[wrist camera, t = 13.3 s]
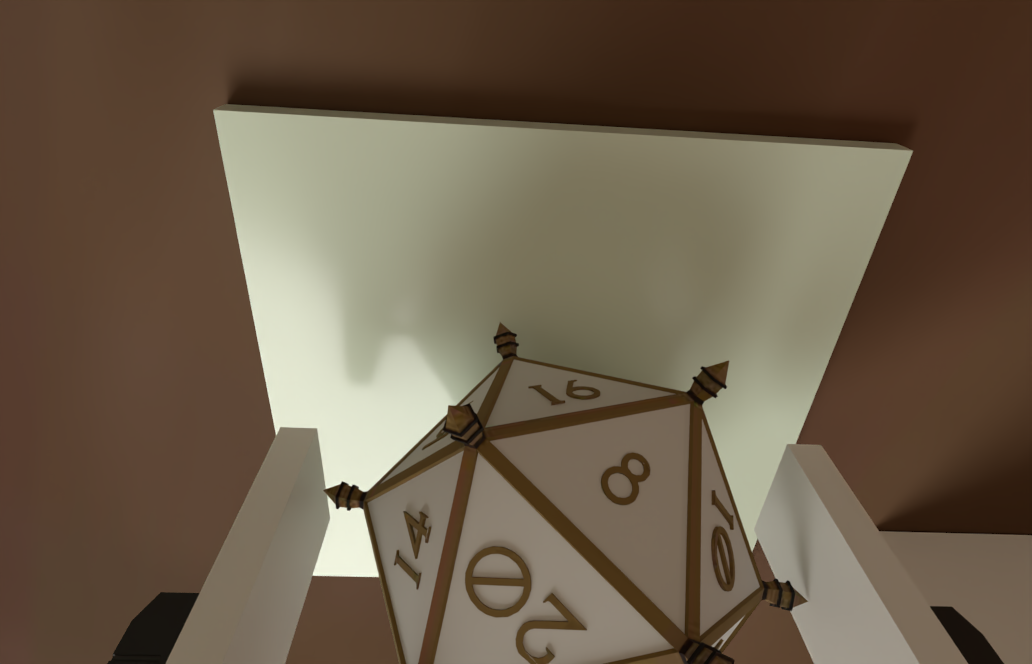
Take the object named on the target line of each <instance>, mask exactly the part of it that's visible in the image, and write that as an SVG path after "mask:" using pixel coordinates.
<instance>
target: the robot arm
mask: <svg viewBox="0 0 1032 664" xmlns="http://www.w3.org/2000/svg"><path fill="white" fill-rule="evenodd" d="M325 489H326V486H325V479H324V472H323V465H322V458H321V451H320V445H319V438H318V431H317V428H290V427H280V429H279V431H278V433H277V435H276V437H275V439H274V441H273V443H272V445H271V447H270V449H269V452H268V454H267V456H266V458H265V460H264V462H263V464H262V466H261V468H260V470H259V472H258V474H257V476H256V478H255V480H254V482H253V484H252V487H251V489H250V491H249V493H248V495H247V497H246V499H245V501H244V503H243V505H242V507H241V509H240V511H239V513H238V515H237V517H236V519H235V522H234V524H233V526H232V528H231V530H230V532H229V534H228V536H227V538H226V540H225V542H224V544H223V546H222V548H221V550H220V552H219V555H218V557H217V559H216V561H215V563H214V565H213V567H212V569H211V571H210V573H209V575H208V577H207V579H206V581H205V583H204V585H203V587H202V590H201V592H200V593H164V592H161V593H160V594H159V595H158V596H157V597H156V598H155V599H154V600H153V601H152V602H151V603H149V604H148V605H147V606H146V607H145V608H144V609H143V610H142V611H141V612H140V613H139V614H138V615H137V616H136V617H135V618H134V619H133V620H132V621H131V623H130V625H129V627H128V628H127V630H126V632H125V634H124V635H123V637H122V639H121V641H120V643H119V644H118V646H117V648H116V650H115V651H114V653H113V658H112V660H111V661H109V662H108V664H285V661H286V658H287V655H288V652H289V649H290V646H291V642H292V639H293V636H294V633H295V630H296V626H297V623H298V620H299V617H300V614H301V610H302V607H303V604H304V601H305V598H306V594H307V591H308V588H309V585H310V582H311V579H312V575H313V572H314V569H315V566H316V563H317V559H318V556H319V553H320V550H321V547H322V543H323V540H324V537H325V534H326V531H327V527H328V524H329V521H330V513H329V507H328V500H327V494H326V493H325V492H324V491H323V490H325ZM754 531H755V533H756V536H757V538H758V540H759V542H760V545H761V547H762V549H763V551H764V553H765V556H766V558H767V560H768V562H769V565H770V567H771V569H772V571H773V573H774V576H775V578H776V579H778V581H779V582H783V583H785V582H786V581H790V583H791V585H792V587H793V588H794V589H795V590H797V591H798V592H799V593H800V594H801V595H802V596H803V597H804V598H805V599H806V600H807V601H808V602H806V603H803V604H801V605H798V606H796V607H794V608H793V609H792V611H791V613H792V616H793V618H794V620H795V622H796V625H797V627H798V629H799V631H800V633H801V636H802V638H803V640H804V642H805V645H806V647H807V649H808V651H809V653H810V656H811V658H812V660H813V662H814V664H1004V663H1003V661H1002V660H1001V659H1000V657H999V656H998V654H997V653H996V652H995V650H994V649H993V648H992V646H991V645H990V643H989V642H988V641H987V639H986V638H985V636H984V635H983V634H982V633H981V632H980V631H979V630H978V629H976V628H975V627H974V626H973V625H972V624H971V623H970V622H969V621H968V620H966V619H965V618H964V617H963V616H962V615H961V614H960V613H959V612H957V611H956V610H955V609H954V608H953V607H948V606H929V605H928V603H927V602H926V600H925V599H924V597H923V596H922V594H921V593H920V591H919V590H918V588H917V587H916V585H915V584H914V582H913V581H912V579H911V578H910V576H909V575H908V574H907V572H906V571H905V569H904V568H903V566H902V565H901V563H900V562H899V560H898V559H897V557H896V556H895V554H894V553H893V551H892V550H891V548H890V547H889V545H888V544H887V542H886V541H885V539H884V538H883V536H882V535H881V533H880V532H879V530H878V529H877V527H876V526H875V524H874V523H873V521H872V520H871V518H870V517H869V516H868V514H867V513H866V511H865V510H864V508H863V507H862V505H861V504H860V502H859V501H858V499H857V498H856V496H855V495H854V493H853V492H852V490H851V489H850V487H849V486H848V484H847V483H846V481H845V480H844V478H843V477H842V475H841V474H840V472H839V471H838V469H837V468H836V466H835V465H834V463H833V462H832V460H831V459H830V457H829V456H828V455H827V453H826V452H825V450H824V449H823V447H822V446H821V445H804V444H787V446H786V448H785V451H784V454H783V456H782V459H781V461H780V464H779V466H778V469H777V471H776V474H775V477H774V479H773V482H772V484H771V487H770V489H769V492H768V494H767V497H766V500H765V502H764V505H763V507H762V510H761V512H760V515H759V517H758V520H757V523H756V525H755V528H754Z"/></svg>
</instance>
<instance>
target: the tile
mask: <svg viewBox="0 0 1032 664" xmlns="http://www.w3.org/2000/svg"><path fill="white" fill-rule="evenodd" d="M213 111H214V117H215V122H216V127H217V132H218V137H219V142H220V148H221V153H222V158H223V163H224V168H225V173H226V179H227V184H228V189H229V194H230V199H231V204H232V210H233V215H234V220H235V225H236V230H237V235H238V241H239V246H240V251H241V256H242V261H243V266H244V272H245V277H246V282H247V287H248V292H249V297H250V303H251V308H252V313H253V318H254V323H255V328H256V334H257V339H258V344H259V349H260V354H261V359H262V365H263V370H264V375H265V380H266V385H267V390H268V395H269V401H270V406H271V411H272V416H273V421H274V426H275V432H276V435H277V433H278V431H279V429H280V427H290V428H317V431H318V438H319V445H320V451H321V458H322V465H323V472H324V479H325V486H326V489H328V488H330V487H333V486H336V485H339V484H341V482H342V481H343V482H345V483H348V484H349V486H352V485H356V486H358V487H359V490H361V491H363V492H366V491H368V490H370V489H371V488H372V487H373V486H374V485H375V484H376V483H377V482H378V481H379V480H380V479H381V478H382V477H383V476H384V475H385V474H386V473H387V472H388V471H389V470H390V469H391V468H392V467H393V466H394V465H395V464H396V463H397V462H398V461H399V460H400V459H401V458H402V457H403V456H404V455H405V454H406V453H408V452H409V451H410V450H411V449H412V448H413V447H414V446H415V445H416V444H417V443H418V442H419V441H420V440H421V439H422V438H423V437H424V436H425V435H426V434H427V433H428V432H429V431H430V430H431V429H432V428H433V427H434V426H435V425H436V424H437V423H438V422H439V421H440V420H441V419H442V418H443V417H444V416H446V415H447V412H448V405H452V406H456V405H457V404H458V403H459V402H460V401H461V400H462V399H463V398H464V397H465V396H466V395H467V394H468V393H469V392H470V391H471V390H472V389H473V388H474V387H475V386H476V385H477V384H478V383H479V382H480V381H481V380H483V379H484V378H485V377H486V376H487V375H488V374H489V373H490V372H491V371H492V370H493V369H494V368H495V367H496V366H497V365H498V364H499V363H500V362H501V361H502V360H503V358H502V356H501V355H500V353H497V348H496V346H497V344H494V338H493V337H494V336H496V333H497V330H498V327H499V324H500V322H501V323H502V324H503V325H504V326H505V327H506V328H508V329H509V330H510V331H511V332H512V333H515V334H517V336H516V337H515V339H516V343H519V346H518V347H517V352H516V354H517V356H518V357H520V358H525V359H530V360H535V361H539V362H544V363H549V364H554V365H559V366H564V367H568V368H573V369H578V370H583V371H588V372H593V373H597V374H602V375H607V376H612V377H617V378H622V379H626V380H631V381H636V382H641V383H646V384H651V385H655V386H660V387H665V388H670V389H675V390H680V391H684V392H687V391H688V390H690V388H691V386H692V384H693V382H694V380H693V379H692V378H693V377H694V376H696V377H697V376H698V375H699V374H700V372H701V371H702V370H701V369H700V368H701V367H702V366H703V367H709V366H712V365H716V364H719V363H722V362H726V361H729V365H728V371H727V377H726V383H725V384H726V386H727V388H726V389H724V388H722V389H721V390H720V391H719V392H718V393H717V395H718V397H716V398H714V397H711V398H710V399H708V400H706V401H704V403H703V405H702V407H703V410H704V413H705V416H706V419H707V422H708V424H709V427H710V430H711V433H712V436H713V439H714V442H715V445H716V448H717V451H718V454H719V457H720V460H721V463H722V466H723V469H724V472H725V474H726V477H727V480H728V483H729V486H730V489H731V492H732V495H733V498H734V501H735V504H736V507H737V510H738V513H739V516H740V519H741V522H742V525H743V527H744V530H745V533H746V536H747V539H748V542H749V545H750V548H751V551H753V549H754V546H755V544H756V541H757V539H758V538H757V536H756V533H755V531H754V528H755V525H756V523H757V520H758V517H759V515H760V512H761V510H762V507H763V505H764V502H765V500H766V497H767V494H768V492H769V489H770V487H771V484H772V482H773V479H774V477H775V474H776V471H777V469H778V466H779V464H780V461H781V459H782V456H783V454H784V451H785V448H786V446H787V444H796V442H797V439H798V437H799V434H800V432H801V429H802V427H803V424H804V422H805V419H806V417H807V414H808V412H809V409H810V407H811V404H812V402H813V399H814V397H815V394H816V392H817V389H818V387H819V384H820V382H821V379H822V377H823V374H824V372H825V369H826V367H827V364H828V362H829V359H830V357H831V354H832V352H833V349H834V347H835V344H836V342H837V339H838V337H839V334H840V332H841V329H842V327H843V324H844V322H845V319H846V317H847V315H848V312H849V310H850V307H851V305H852V302H853V300H854V297H855V295H856V292H857V290H858V287H859V285H860V282H861V280H862V277H863V275H864V272H865V270H866V267H867V265H868V262H869V260H870V257H871V255H872V252H873V250H874V247H875V245H876V242H877V240H878V237H879V235H880V232H881V230H882V227H883V225H884V222H885V220H886V217H887V215H888V212H889V210H890V207H891V205H892V202H893V200H894V197H895V195H896V192H897V190H898V188H899V185H900V183H901V180H902V178H903V175H904V173H905V170H906V168H907V165H908V163H909V160H910V158H911V155H912V153H913V150H910V149H908V148H906V147H904V146H901V145H899V144H897V143H881V142H864V141H847V140H830V139H813V138H796V137H779V136H762V135H745V134H728V133H711V132H694V131H677V130H660V129H643V128H626V127H608V126H591V125H574V124H557V123H540V122H523V121H506V120H489V119H472V118H455V117H438V116H421V115H404V114H387V113H370V112H353V111H336V110H319V109H302V108H285V107H267V106H250V105H233V104H225V105H223V106H220V107H218V108H216V109H214V110H213ZM327 500H328V507H329V513H330V521H329V524H328V527H327V531H326V534H325V537H324V540H323V543H322V547H321V550H320V553H319V556H318V559H317V563H316V566H315V569H314V572H313V575H312V576H356V577H379V574H378V570H377V566H376V562H375V557H374V553H373V549H372V545H371V540H370V536H369V532H368V528H367V523H366V519H365V515H364V510H363V509H361V508H351V510H350V511H347V508H344V507H340V508H339V509H336V505H335V503H334V502H333V501H332V500H331V499H330V498H329V496H328V495H327Z"/></svg>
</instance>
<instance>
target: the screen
mask: <svg viewBox="0 0 1032 664" xmlns="http://www.w3.org/2000/svg"><path fill="white" fill-rule="evenodd" d="M879 532H880V533H881V535H882V536H883V538H884V539H885V541H886V542H887V544H888V545H889V547H890V548H891V550H892V551H893V553H894V554H895V556H896V557H897V559H898V560H899V562H900V563H901V565H902V566H903V568H904V569H905V571H906V572H907V574H908V575H909V576H910V578H911V579H912V581H913V582H914V584H915V585H916V587H917V588H918V590H919V591H920V593H921V594H922V596H923V597H924V599H925V600H926V602H927V603H928V605H929V606H948V607H953V608H954V609H955V610H956V611H957V612H959V613H960V614H961V615H962V616H963V617H964V618H965V619H966V620H968V621H969V622H970V623H971V624H972V625H973V626H974V627H975V628H976V629H978V630H979V631H980V632H981V633H982V634H983V635H984V636H985V638H986V639H987V641H988V642H989V643H990V645H991V646H992V648H993V649H994V650H995V652H996V653H997V654H998V656H999V657H1000V659H1001V660H1002V661H1003V663H1004V664H1032V535H1004V534H965V533H927V532H888V531H879Z"/></svg>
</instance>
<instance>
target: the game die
mask: <svg viewBox="0 0 1032 664" xmlns="http://www.w3.org/2000/svg"><path fill="white" fill-rule="evenodd" d="M516 336H517V334H515V333H512V332H511V331H510V330H509V329H508V328H506V327H505V326H504V325H503V324H502V323H501V322H500V324H499V327H498V330H497V333H496V336H494V337H493V338H494V344H497V346H496V348H497V353H500V355H501V356H502V358H503V360H502V361H501V362H500V363H499V364H498V365H497V366H496V367H495V368H494V369H493V370H492V371H491V372H490V373H489V374H488V375H487V376H486V377H485V378H484V379H483V380H481V381H480V382H479V383H478V384H477V385H476V386H475V387H474V388H473V389H472V390H471V391H470V392H469V393H468V394H467V395H466V396H465V397H464V398H463V399H462V400H461V401H460V402H459V403H458V404H457V405H456V406H452V405H448V412H447V415H446V416H444V417H443V418H442V419H441V420H440V421H439V422H438V423H437V424H436V425H435V426H434V427H433V428H432V429H431V430H430V431H429V432H428V433H427V434H426V435H425V436H424V437H423V438H422V439H421V440H420V441H419V442H418V443H417V444H416V445H415V446H414V447H413V448H412V449H411V450H410V451H409V452H408V453H406V454H405V455H404V456H403V457H402V458H401V459H400V460H399V461H398V462H397V463H396V464H395V465H394V466H393V467H392V468H391V469H390V470H389V471H388V472H387V473H386V474H385V475H384V476H383V477H382V478H381V479H380V480H379V481H378V482H377V483H376V484H375V485H374V486H373V487H372V488H371V489H370V490H368V491H366V492H363V491H361V490H359V487H358V486H356V485H352V486H349V484H348V483H345V482H343V481H342V482H341V484H339V485H336V486H333V487H330V488H328V489H325V490H323V491H324V492H325V493H326V494H327V495H328V496H329V498H330V499H331V500H332V501H333V502H334V503H335V505H336V509H339V508H340V507H344V508H347V511H350V510H351V508H361V509H363V510H364V515H365V519H366V523H367V528H368V532H369V536H370V540H371V545H372V549H373V553H374V557H375V562H376V566H377V570H378V574H379V579H380V583H381V587H382V591H383V596H384V600H385V604H386V608H387V613H388V617H389V621H390V625H391V630H392V634H393V638H394V643H395V647H396V651H397V655H398V660H399V664H734V660H733V659H732V658H730V657H728V656H726V655H723V654H722V652H723V651H724V650H725V648H726V647H727V646H728V644H729V643H730V642H731V640H732V639H733V638H734V636H735V635H736V634H737V632H738V631H739V630H740V628H741V627H742V626H743V624H744V623H745V622H746V620H747V619H748V618H749V616H750V615H751V614H752V612H753V611H754V610H755V608H756V607H757V605H758V604H759V603H760V601H761V600H765V601H767V602H769V603H770V606H774V607H780V606H781V608H782V609H784V610H789V611H792V609H793V608H794V607H796V606H798V605H801V604H803V603H806V602H808V601H807V600H806V599H805V598H804V597H803V596H802V595H801V594H800V593H799V592H798V591H797V590H795V589H794V588H793V587H792V585H791V583H790V581H786V582H785V583H783V582H779V581H778V579H774V581H772V582H764V581H762V580H761V577H760V575H759V572H758V569H757V566H756V563H755V560H754V557H753V554H752V551H751V548H750V545H749V542H748V539H747V536H746V533H745V530H744V527H743V525H742V522H741V519H740V516H739V513H738V510H737V507H736V504H735V501H734V498H733V495H732V492H731V489H730V486H729V483H728V480H727V477H726V474H725V472H724V469H723V466H722V463H721V460H720V457H719V454H718V451H717V448H716V445H715V442H714V439H713V436H712V433H711V430H710V427H709V424H708V422H707V419H706V416H705V413H704V410H703V407H702V405H703V403H704V401H706V400H708V399H710V398H711V397H714V398H716V397H718V395H717V393H718V392H719V391H720V390H721V389H722V388H724V389H726V388H727V386H726V384H725V383H726V377H727V371H728V365H729V361H726V362H722V363H719V364H716V365H712V366H709V367H703V366H702V367H701V368H700V369H701V370H702V371H701V372H700V374H699V375H698V376H697V377H696V376H694V377H693V378H692V379H693V380H694V382H693V384H692V386H691V388H690V390H688V391H687V392H684V391H680V390H675V389H670V388H665V387H660V386H655V385H651V384H646V383H641V382H636V381H631V380H626V379H622V378H617V377H612V376H607V375H602V374H597V373H593V372H588V371H583V370H578V369H573V368H568V367H564V366H559V365H554V364H549V363H544V362H539V361H535V360H530V359H525V358H520V357H518V356H517V354H516V352H517V347H518V346H519V343H516V339H515V337H516Z"/></svg>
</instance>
